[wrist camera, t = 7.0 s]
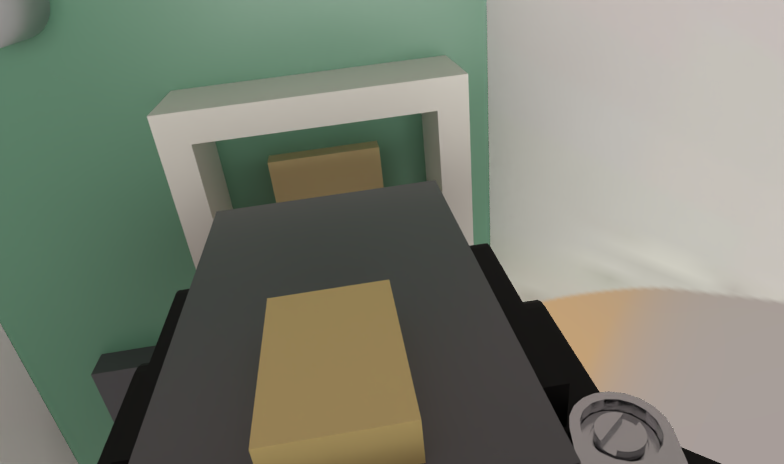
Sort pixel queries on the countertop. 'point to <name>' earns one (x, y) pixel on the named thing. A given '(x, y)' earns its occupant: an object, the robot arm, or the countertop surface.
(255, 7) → the board
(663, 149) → the countertop surface
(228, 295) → the plug
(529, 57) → the countertop surface
